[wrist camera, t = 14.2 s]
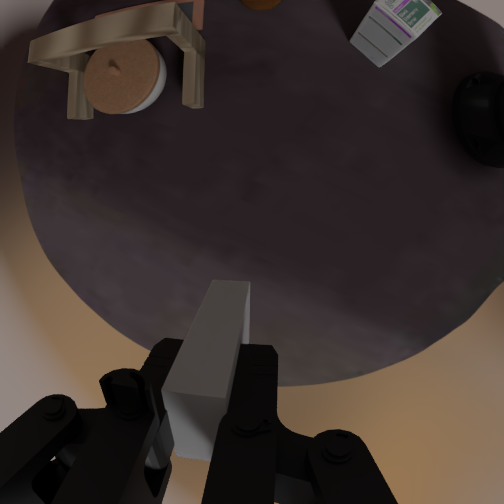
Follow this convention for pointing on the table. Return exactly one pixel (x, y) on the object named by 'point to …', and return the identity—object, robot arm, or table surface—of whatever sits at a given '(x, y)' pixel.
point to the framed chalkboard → (189, 3)
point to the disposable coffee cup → (260, 4)
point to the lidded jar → (124, 77)
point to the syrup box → (392, 27)
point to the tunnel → (115, 32)
